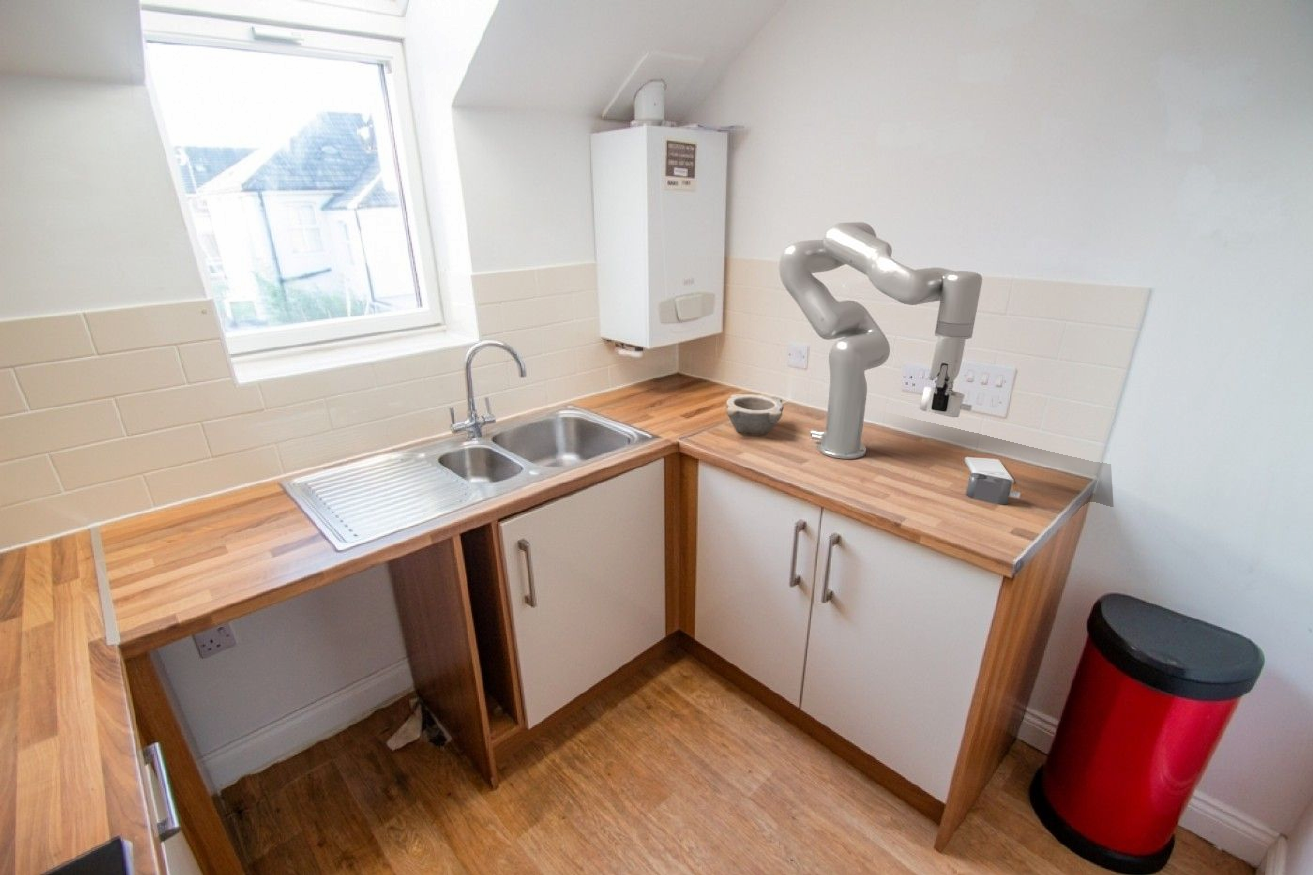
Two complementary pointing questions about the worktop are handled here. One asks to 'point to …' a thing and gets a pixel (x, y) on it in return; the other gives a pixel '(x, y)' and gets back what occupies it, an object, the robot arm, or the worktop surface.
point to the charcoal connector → (990, 489)
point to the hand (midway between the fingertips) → (940, 407)
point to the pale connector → (953, 403)
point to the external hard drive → (988, 467)
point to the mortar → (754, 413)
